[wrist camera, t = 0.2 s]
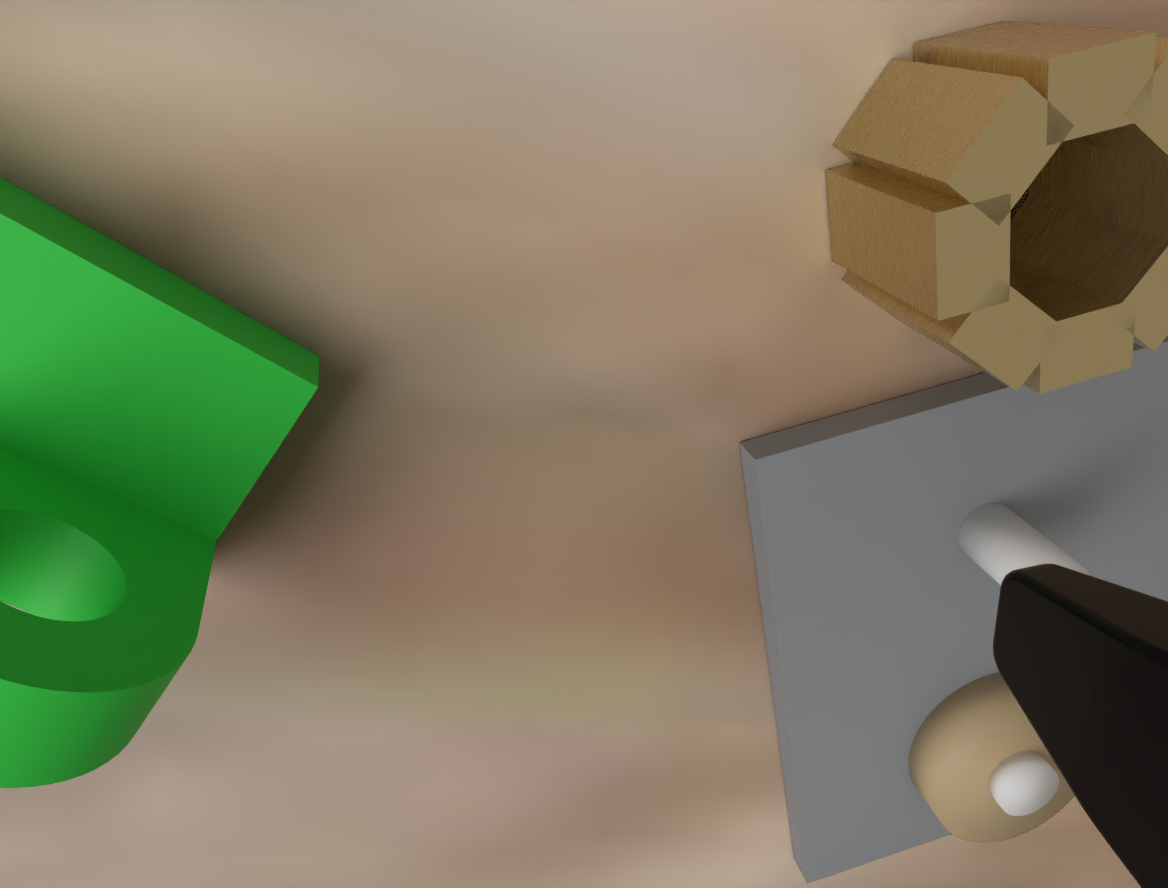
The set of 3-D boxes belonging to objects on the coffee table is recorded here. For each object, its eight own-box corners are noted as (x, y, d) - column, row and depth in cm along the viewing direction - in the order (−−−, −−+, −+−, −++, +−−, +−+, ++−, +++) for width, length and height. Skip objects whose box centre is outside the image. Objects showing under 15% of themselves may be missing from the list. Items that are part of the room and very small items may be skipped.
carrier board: (1133, 742, 33) (1231, 834, 29) (793, 858, 31) (853, 970, 28) (1173, 319, 26) (1307, 373, 22) (739, 442, 24) (809, 521, 21)
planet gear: (1081, 281, 25) (1225, 340, 21) (838, 348, 24) (940, 422, 20) (1094, -1, 22) (1266, 4, 18) (817, 65, 21) (932, 86, 17)
